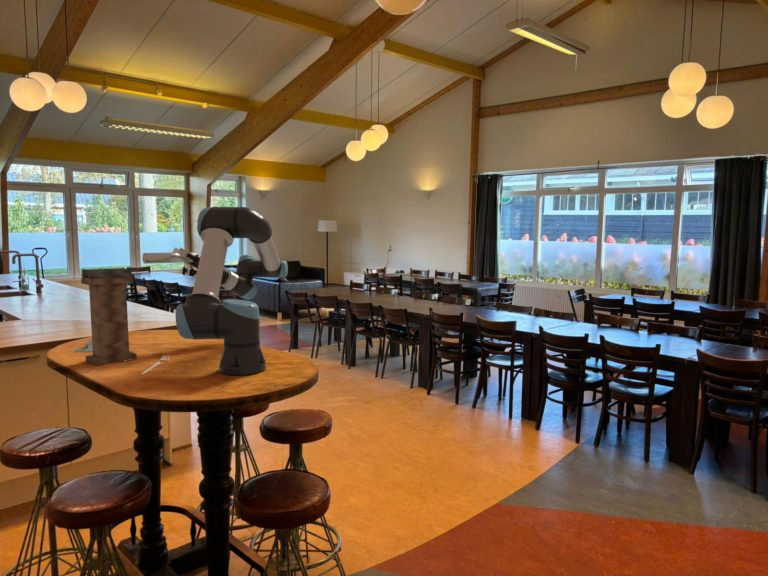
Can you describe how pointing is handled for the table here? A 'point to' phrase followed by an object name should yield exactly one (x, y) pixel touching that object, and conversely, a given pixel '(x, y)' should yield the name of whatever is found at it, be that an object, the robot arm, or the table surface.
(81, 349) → the metal bracket
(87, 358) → the walnut stand
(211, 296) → the robot arm
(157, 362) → the fork
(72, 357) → the table surface
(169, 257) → the chrome rounded rod
